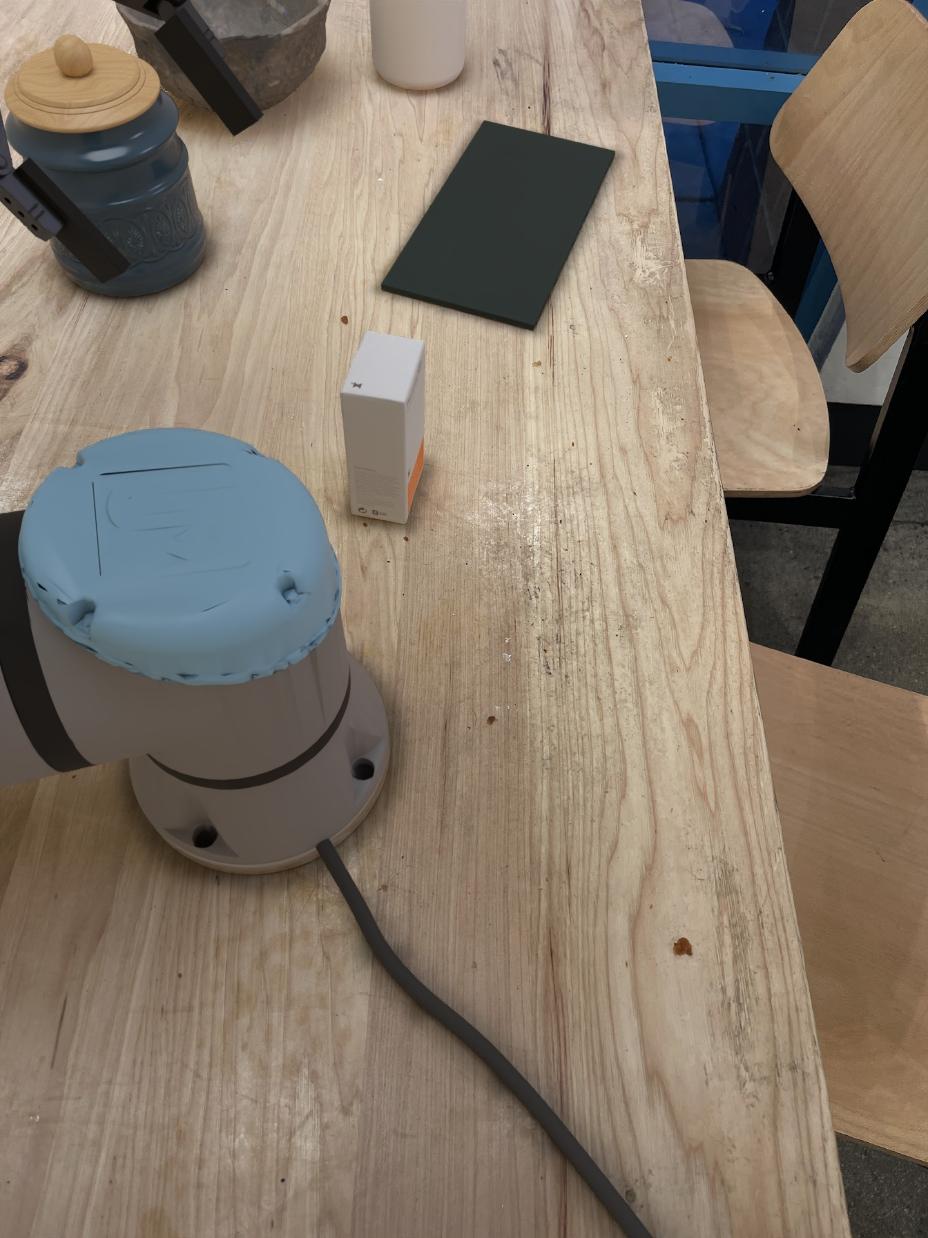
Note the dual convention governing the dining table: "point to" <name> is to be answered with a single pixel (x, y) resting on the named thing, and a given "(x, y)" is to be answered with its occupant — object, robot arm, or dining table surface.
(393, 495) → the cosmetic box
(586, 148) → the mat
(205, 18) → the bowl
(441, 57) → the cup
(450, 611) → the dining table surface
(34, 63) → the canister
